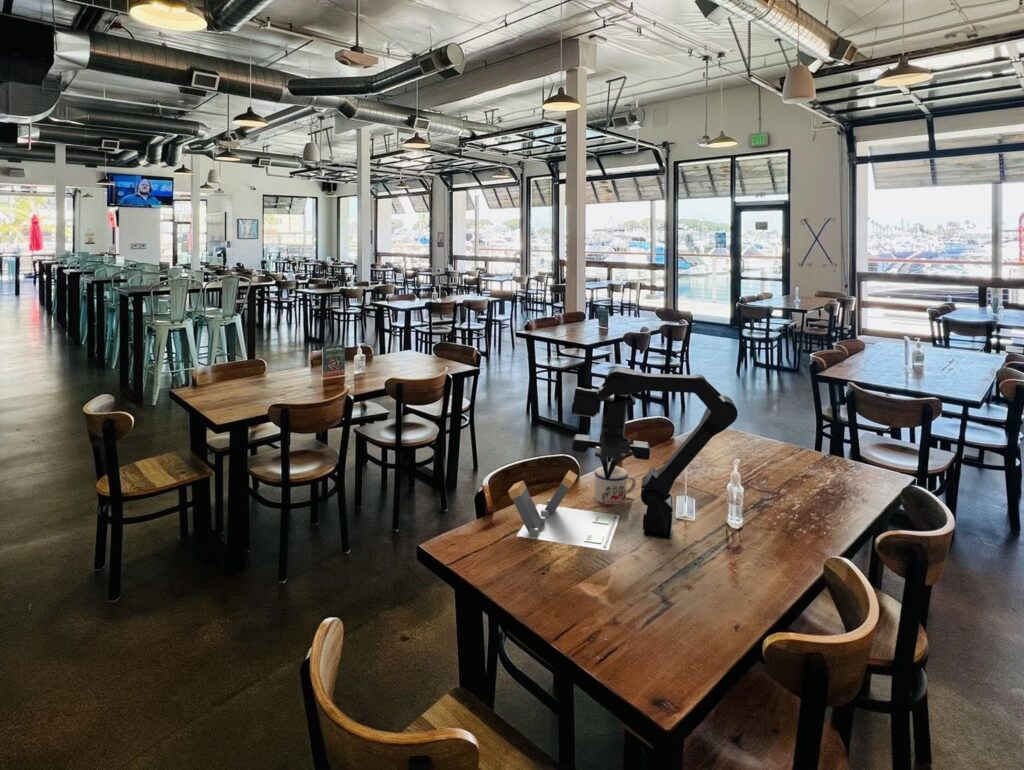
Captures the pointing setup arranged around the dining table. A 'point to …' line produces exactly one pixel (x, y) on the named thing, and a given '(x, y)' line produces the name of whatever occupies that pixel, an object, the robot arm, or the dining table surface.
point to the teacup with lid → (612, 485)
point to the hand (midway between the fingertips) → (607, 479)
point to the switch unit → (573, 527)
